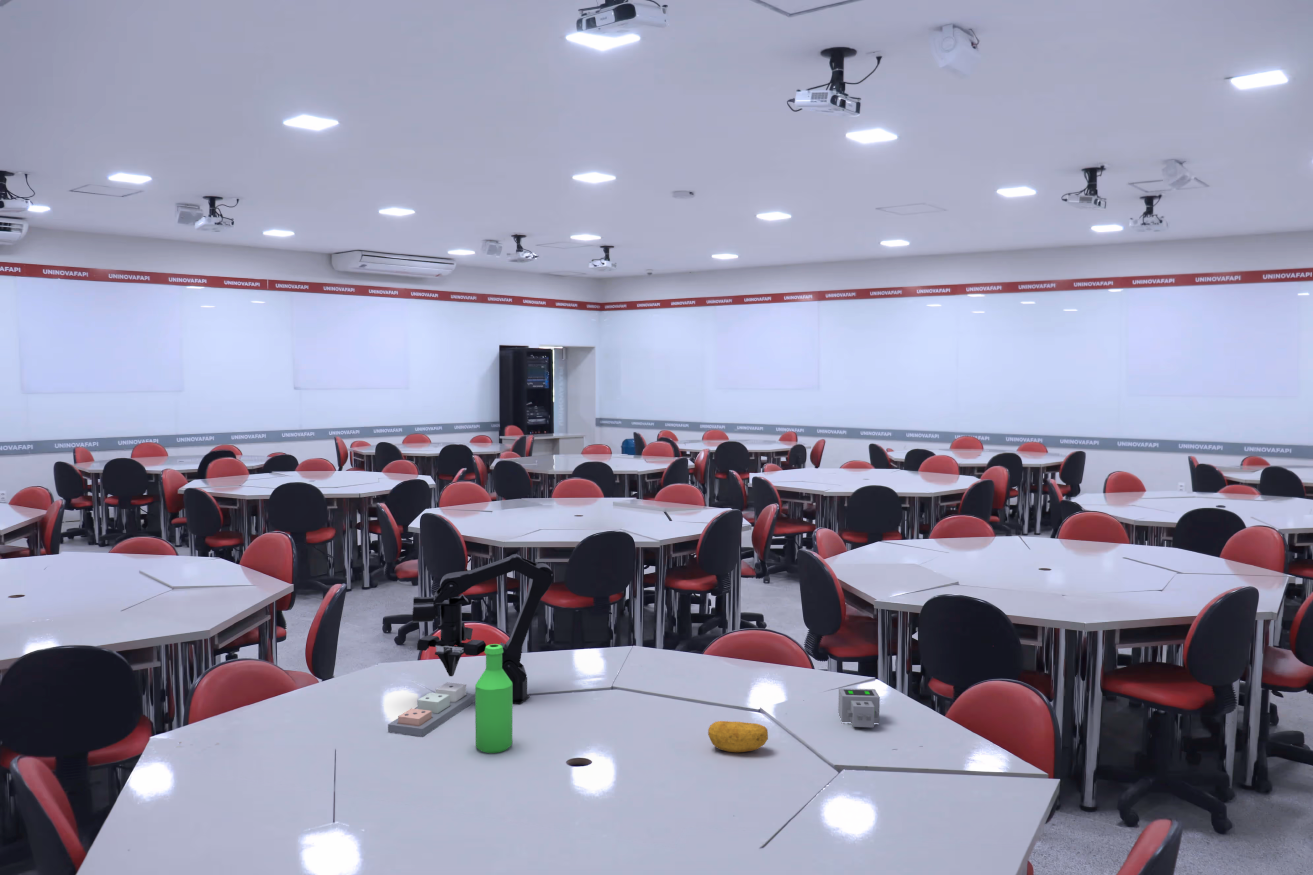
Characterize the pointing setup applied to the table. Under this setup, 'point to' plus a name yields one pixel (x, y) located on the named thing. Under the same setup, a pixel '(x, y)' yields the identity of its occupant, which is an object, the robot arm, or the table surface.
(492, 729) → the bottle
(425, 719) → the tile
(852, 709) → the toy
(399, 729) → the board
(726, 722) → the potato
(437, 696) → the tile
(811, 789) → the table surface
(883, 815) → the table surface
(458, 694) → the tile
